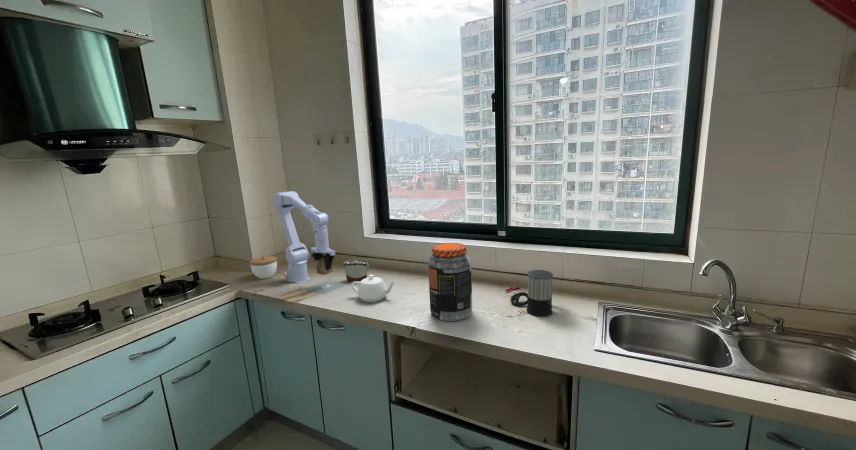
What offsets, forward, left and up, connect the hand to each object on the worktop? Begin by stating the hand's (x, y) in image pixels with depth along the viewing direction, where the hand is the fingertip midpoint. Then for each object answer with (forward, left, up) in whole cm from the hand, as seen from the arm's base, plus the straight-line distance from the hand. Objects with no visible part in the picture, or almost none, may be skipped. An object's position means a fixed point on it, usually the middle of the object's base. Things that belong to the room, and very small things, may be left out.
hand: (324, 268), depth 167 cm
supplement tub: (+65, +4, -9) cm, 66 cm away
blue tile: (0, 0, -9) cm, 9 cm away
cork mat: (-2, -14, -9) cm, 17 cm away
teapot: (+29, +1, -9) cm, 30 cm away
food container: (+7, +14, -9) cm, 18 cm away
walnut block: (0, 0, -2) cm, 2 cm away
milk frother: (+89, +23, -9) cm, 92 cm away
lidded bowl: (-41, -5, -9) cm, 42 cm away
